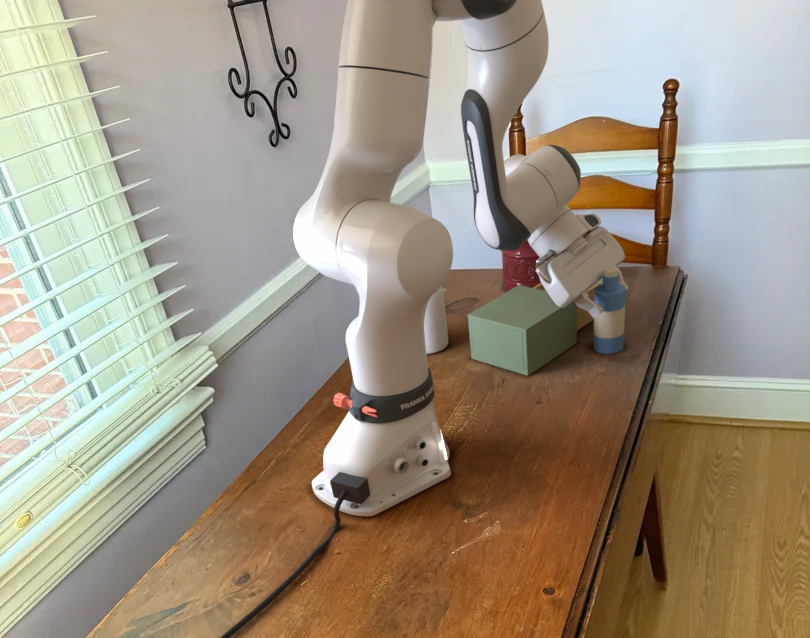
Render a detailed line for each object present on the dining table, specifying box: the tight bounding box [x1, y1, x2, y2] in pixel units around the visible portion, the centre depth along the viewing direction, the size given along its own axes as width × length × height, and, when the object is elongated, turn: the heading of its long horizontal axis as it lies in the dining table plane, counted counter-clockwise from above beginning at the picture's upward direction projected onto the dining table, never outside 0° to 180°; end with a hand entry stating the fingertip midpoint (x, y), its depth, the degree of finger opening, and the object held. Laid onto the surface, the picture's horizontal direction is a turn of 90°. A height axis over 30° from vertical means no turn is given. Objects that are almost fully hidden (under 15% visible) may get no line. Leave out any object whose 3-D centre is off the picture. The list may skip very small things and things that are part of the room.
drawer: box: [533, 278, 603, 331], centre depth 151 cm, size 18×12×7 cm
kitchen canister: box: [500, 240, 541, 292], centre depth 164 cm, size 13×13×18 cm
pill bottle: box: [424, 285, 449, 355], centre depth 148 cm, size 8×8×15 cm
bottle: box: [593, 266, 627, 355], centre depth 138 cm, size 5×5×14 cm
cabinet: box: [467, 285, 578, 377], centre depth 143 cm, size 15×13×9 cm
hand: (612, 303), depth 137 cm, fingers open, 8 cm apart
